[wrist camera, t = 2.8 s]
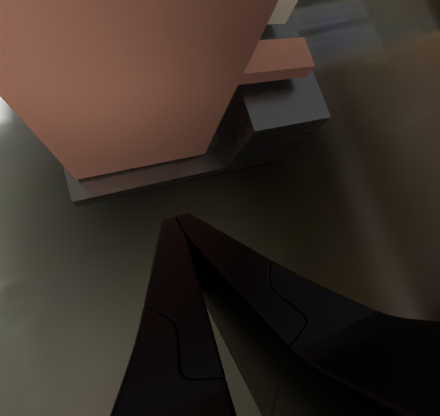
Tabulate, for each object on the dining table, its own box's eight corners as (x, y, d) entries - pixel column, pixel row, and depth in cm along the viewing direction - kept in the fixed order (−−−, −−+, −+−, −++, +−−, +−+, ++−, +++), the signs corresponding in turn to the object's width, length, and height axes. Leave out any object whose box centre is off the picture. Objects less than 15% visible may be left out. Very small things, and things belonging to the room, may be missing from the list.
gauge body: (279, 159, 18) (332, 116, 13) (77, 205, 14) (32, 171, 9) (227, 13, 19) (255, -81, 14) (31, 19, 16) (-31, -107, 10)
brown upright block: (270, 140, 17) (428, -24, 7) (76, 179, 13) (-120, -36, 4) (253, 92, 17) (380, -124, 8) (60, 117, 14) (-149, -217, 4)
